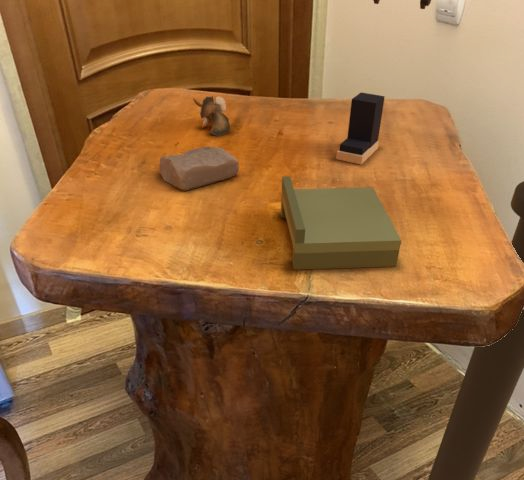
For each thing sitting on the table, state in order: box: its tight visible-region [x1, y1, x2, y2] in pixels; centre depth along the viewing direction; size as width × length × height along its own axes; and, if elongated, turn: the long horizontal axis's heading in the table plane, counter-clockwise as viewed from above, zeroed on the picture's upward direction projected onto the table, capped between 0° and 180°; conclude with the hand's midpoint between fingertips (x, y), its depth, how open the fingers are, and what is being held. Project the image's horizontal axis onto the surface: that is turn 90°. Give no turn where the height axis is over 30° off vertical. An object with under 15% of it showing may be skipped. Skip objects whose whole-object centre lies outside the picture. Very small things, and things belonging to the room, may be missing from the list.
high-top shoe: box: [335, 92, 386, 165], centre depth 101 cm, size 9×5×10 cm, turn 152°
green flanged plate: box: [280, 175, 402, 271], centre depth 78 cm, size 14×16×6 cm
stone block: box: [158, 146, 240, 192], centre depth 95 cm, size 12×5×10 cm
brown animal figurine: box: [192, 95, 231, 137], centre depth 112 cm, size 8×7×9 cm
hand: (398, 3), depth 98 cm, fingers open, 8 cm apart
